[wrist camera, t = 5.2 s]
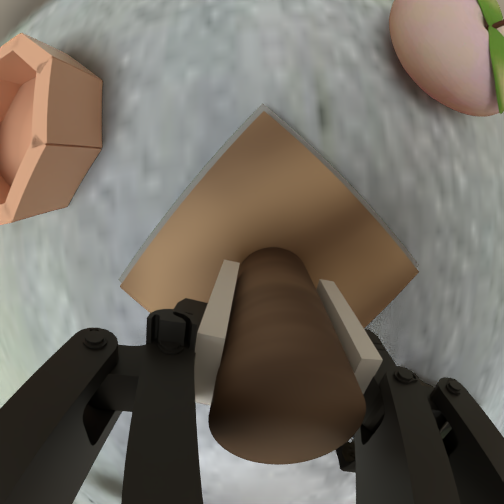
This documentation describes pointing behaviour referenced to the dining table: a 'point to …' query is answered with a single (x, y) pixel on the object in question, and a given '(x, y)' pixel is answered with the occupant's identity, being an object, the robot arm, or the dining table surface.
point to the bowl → (44, 127)
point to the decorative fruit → (453, 51)
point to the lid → (276, 291)
